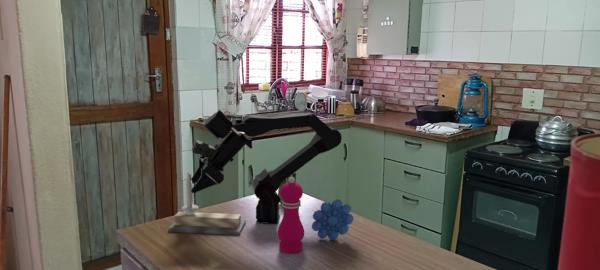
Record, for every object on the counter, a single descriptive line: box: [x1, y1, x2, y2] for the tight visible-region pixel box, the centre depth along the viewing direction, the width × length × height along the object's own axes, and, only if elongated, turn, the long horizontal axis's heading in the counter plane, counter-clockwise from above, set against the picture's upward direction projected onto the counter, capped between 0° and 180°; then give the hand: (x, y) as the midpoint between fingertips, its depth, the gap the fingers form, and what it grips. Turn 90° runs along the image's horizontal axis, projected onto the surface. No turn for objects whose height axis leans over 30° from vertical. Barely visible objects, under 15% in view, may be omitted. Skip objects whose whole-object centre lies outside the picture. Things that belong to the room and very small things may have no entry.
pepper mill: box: [276, 176, 305, 254], centre depth 122 cm, size 7×7×20 cm
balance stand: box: [167, 211, 247, 236], centre depth 137 cm, size 21×9×4 cm, turn 85°
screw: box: [181, 172, 199, 216], centre depth 136 cm, size 13×5×5 cm
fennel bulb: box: [277, 171, 297, 205], centre depth 157 cm, size 6×5×12 cm
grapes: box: [311, 198, 354, 241], centre depth 130 cm, size 12×7×12 cm, turn 85°
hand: (191, 187), depth 136 cm, fingers open, 9 cm apart
